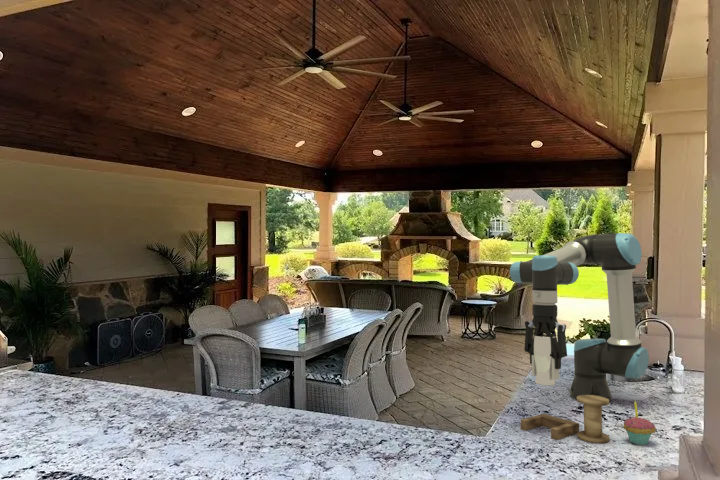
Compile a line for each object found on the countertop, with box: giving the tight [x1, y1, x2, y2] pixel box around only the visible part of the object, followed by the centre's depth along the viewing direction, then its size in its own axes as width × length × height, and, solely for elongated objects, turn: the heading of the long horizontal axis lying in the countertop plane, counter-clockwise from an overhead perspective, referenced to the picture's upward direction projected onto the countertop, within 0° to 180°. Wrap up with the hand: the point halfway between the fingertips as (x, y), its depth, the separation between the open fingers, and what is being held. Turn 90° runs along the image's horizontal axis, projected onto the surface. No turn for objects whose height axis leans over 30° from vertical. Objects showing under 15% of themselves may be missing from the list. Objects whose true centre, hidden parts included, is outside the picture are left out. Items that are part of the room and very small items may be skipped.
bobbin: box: [576, 395, 611, 445], centre depth 163 cm, size 9×9×12 cm
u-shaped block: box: [520, 413, 580, 441], centre depth 169 cm, size 12×13×3 cm
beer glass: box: [533, 333, 556, 387], centre depth 169 cm, size 7×7×15 cm
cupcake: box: [622, 401, 656, 446], centre depth 160 cm, size 9×8×12 cm
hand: (545, 377), depth 169 cm, fingers closed on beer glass, 6 cm apart
